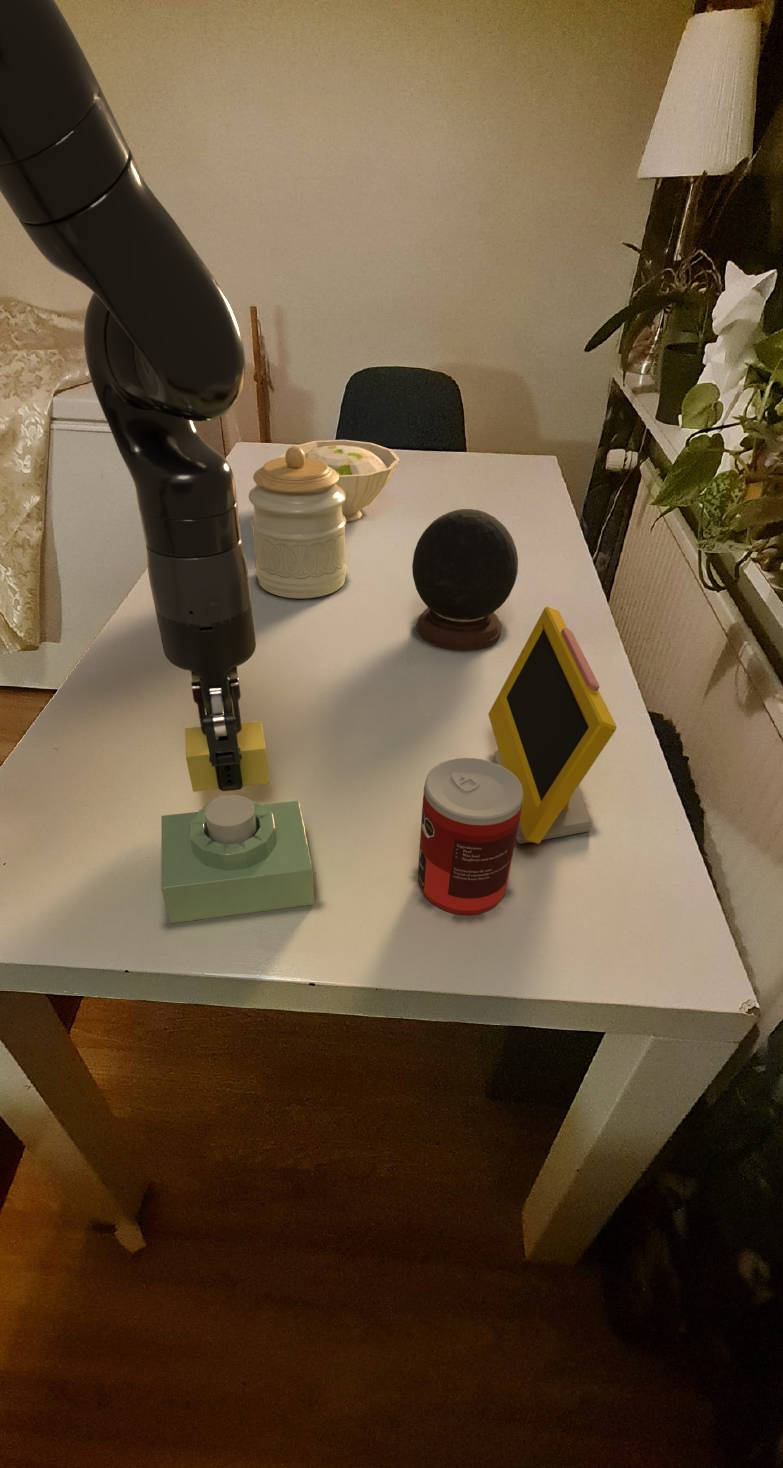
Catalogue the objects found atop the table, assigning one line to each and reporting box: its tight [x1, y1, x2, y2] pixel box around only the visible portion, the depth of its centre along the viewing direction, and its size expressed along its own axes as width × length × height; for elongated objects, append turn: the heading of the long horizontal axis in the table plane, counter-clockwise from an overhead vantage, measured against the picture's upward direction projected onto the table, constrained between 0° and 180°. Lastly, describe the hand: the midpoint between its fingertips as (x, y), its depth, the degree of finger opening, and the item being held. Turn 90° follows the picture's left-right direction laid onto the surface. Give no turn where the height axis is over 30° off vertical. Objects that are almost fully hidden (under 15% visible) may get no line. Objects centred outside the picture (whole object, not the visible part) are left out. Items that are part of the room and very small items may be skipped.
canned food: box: [417, 757, 523, 916], centre depth 64 cm, size 8×8×11 cm
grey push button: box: [204, 794, 257, 845], centre depth 63 cm, size 4×4×2 cm
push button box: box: [160, 800, 315, 924], centre depth 66 cm, size 12×9×6 cm
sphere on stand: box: [411, 508, 519, 652], centre depth 97 cm, size 13×13×15 cm
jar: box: [248, 445, 348, 599], centre depth 105 cm, size 13×13×18 cm
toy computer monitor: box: [487, 606, 618, 845], centre depth 71 cm, size 20×8×16 cm, turn 4°
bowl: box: [280, 439, 401, 523], centre depth 127 cm, size 19×19×10 cm
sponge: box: [184, 720, 270, 793], centre depth 71 cm, size 7×4×4 cm, turn 102°
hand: (229, 770), depth 72 cm, fingers closed on sponge, 4 cm apart
